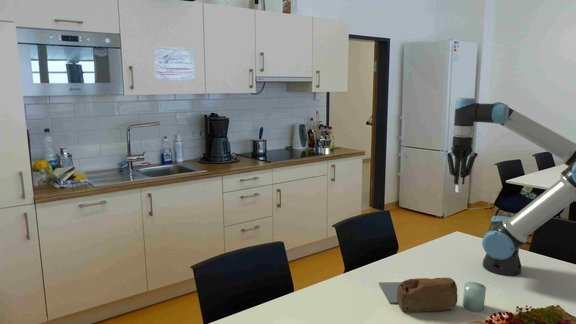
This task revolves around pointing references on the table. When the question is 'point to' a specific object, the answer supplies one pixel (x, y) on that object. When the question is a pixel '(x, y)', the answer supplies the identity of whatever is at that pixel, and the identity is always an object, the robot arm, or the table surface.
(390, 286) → the mat
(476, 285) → the pale blue rounded cylinder
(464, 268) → the table surface
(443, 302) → the brown sandstone rock
